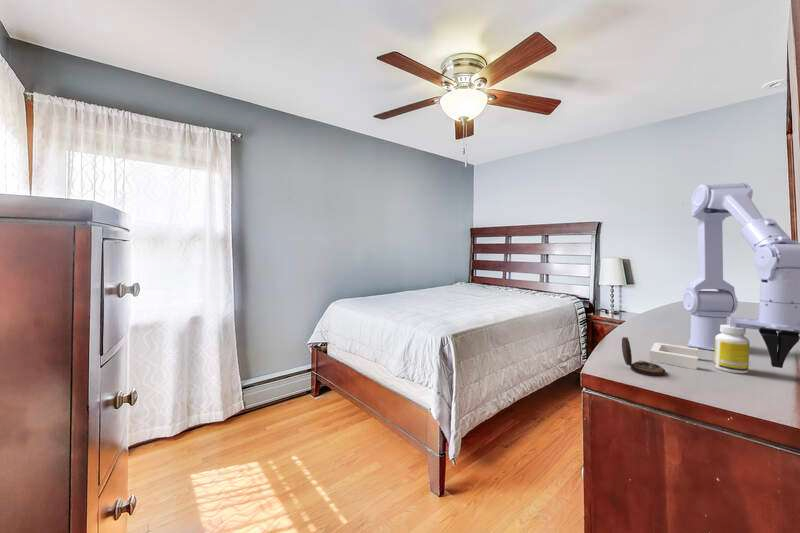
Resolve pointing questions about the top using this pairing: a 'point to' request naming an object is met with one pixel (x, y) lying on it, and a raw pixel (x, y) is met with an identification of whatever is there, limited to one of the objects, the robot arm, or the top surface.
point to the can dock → (674, 355)
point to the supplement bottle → (731, 350)
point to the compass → (640, 366)
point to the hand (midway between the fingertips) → (776, 366)
